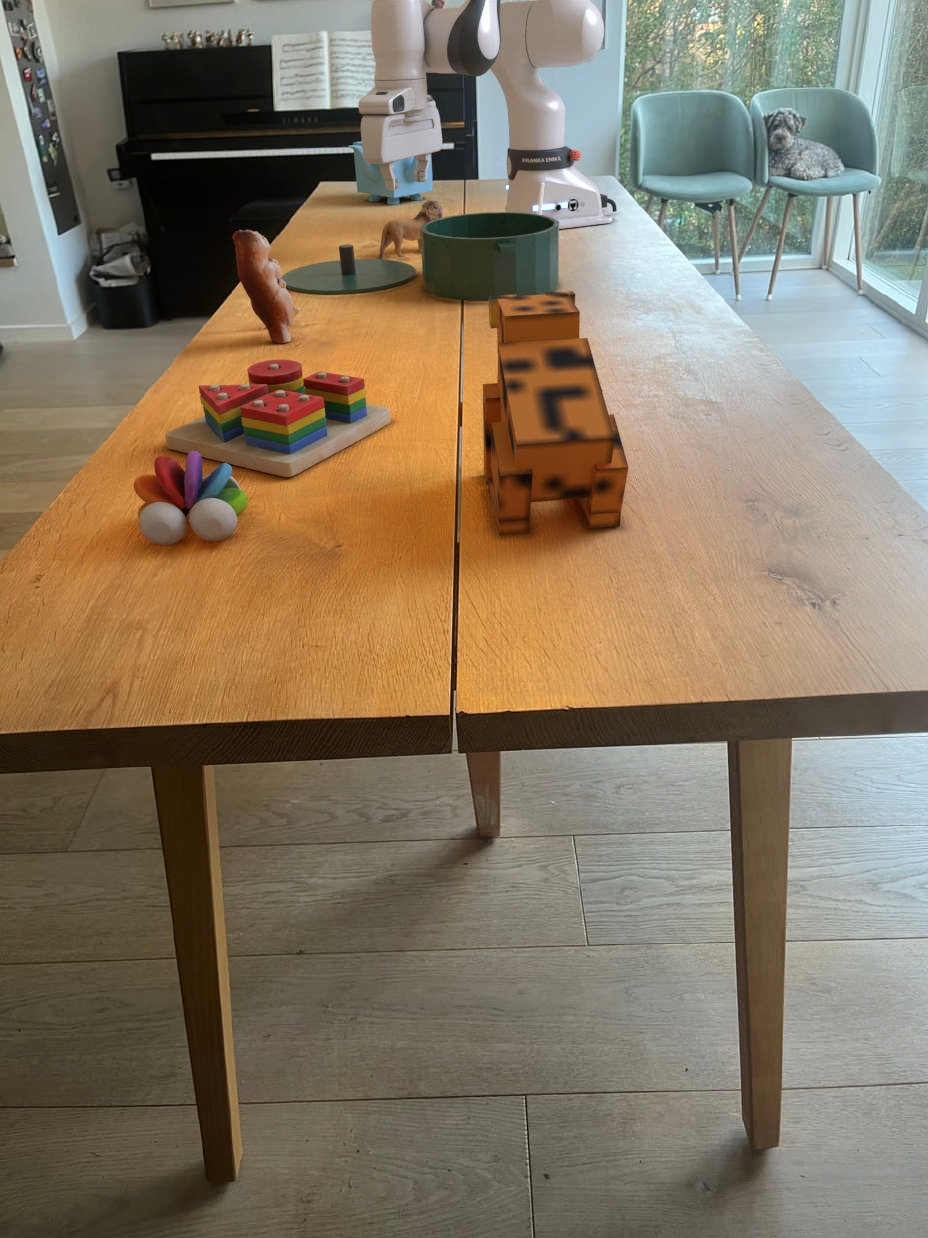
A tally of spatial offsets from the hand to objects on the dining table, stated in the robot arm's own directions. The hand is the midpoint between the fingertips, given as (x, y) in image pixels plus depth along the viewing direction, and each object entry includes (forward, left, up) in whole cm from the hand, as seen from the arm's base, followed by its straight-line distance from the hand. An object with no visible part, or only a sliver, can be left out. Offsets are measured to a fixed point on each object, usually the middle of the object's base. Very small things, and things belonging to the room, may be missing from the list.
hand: (406, 185), depth 175 cm
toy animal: (+2, +107, -12) cm, 108 cm away
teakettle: (-5, -62, -12) cm, 63 cm away
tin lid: (+13, +16, -11) cm, 23 cm away
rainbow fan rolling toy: (+34, +106, -12) cm, 112 cm away
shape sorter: (+26, +85, -12) cm, 90 cm away
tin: (-9, +28, -12) cm, 32 cm away
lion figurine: (0, 0, -12) cm, 12 cm away
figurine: (+26, +48, -12) cm, 56 cm away
